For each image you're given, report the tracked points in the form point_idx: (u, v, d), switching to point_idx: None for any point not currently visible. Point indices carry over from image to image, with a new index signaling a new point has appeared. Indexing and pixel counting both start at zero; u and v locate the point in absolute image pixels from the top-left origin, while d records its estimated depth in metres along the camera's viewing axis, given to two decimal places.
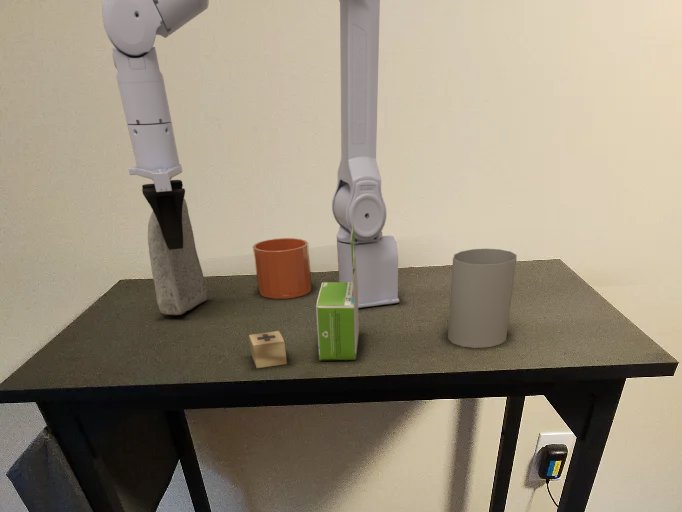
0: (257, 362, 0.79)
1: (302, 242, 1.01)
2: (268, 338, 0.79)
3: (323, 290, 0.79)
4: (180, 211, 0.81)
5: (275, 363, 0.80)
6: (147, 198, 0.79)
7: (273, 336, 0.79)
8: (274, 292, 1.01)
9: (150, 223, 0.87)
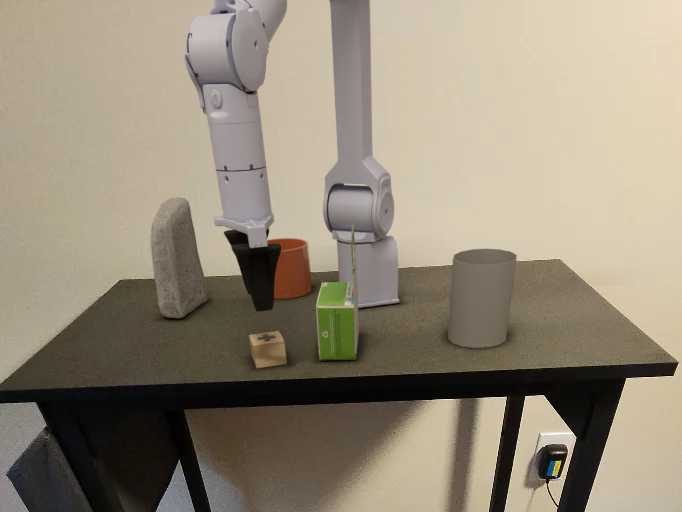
0: (257, 362, 0.79)
1: (302, 242, 1.01)
2: (268, 338, 0.79)
3: (323, 290, 0.79)
4: (274, 269, 0.70)
5: (275, 363, 0.80)
6: (238, 257, 0.67)
7: (273, 336, 0.79)
8: (274, 292, 1.01)
9: (154, 227, 0.87)
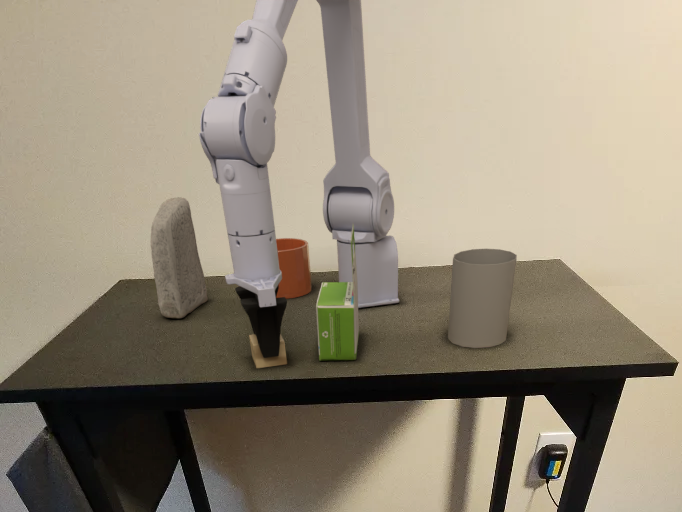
0: (257, 362, 0.79)
1: (302, 242, 1.01)
2: None
3: (323, 290, 0.79)
4: (280, 321, 0.75)
5: (275, 363, 0.80)
6: (247, 311, 0.72)
7: None
8: None
9: (154, 227, 0.87)
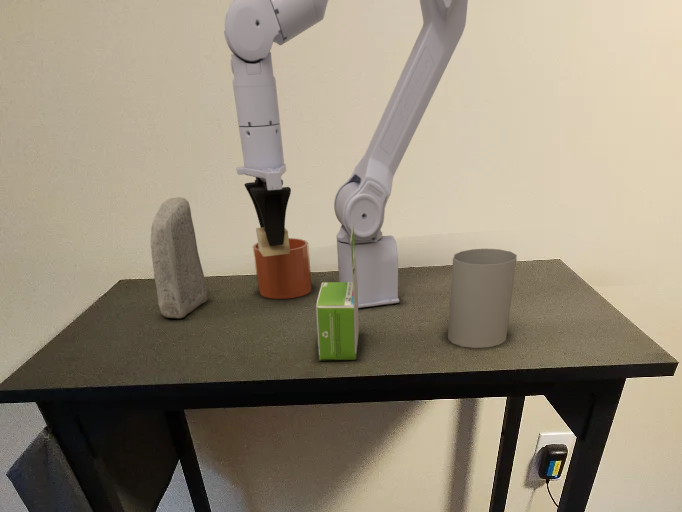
0: (264, 250, 0.89)
1: (302, 242, 1.01)
2: None
3: (323, 290, 0.79)
4: (284, 209, 0.85)
5: (279, 252, 0.90)
6: (256, 197, 0.83)
7: None
8: (274, 292, 1.01)
9: (154, 227, 0.87)
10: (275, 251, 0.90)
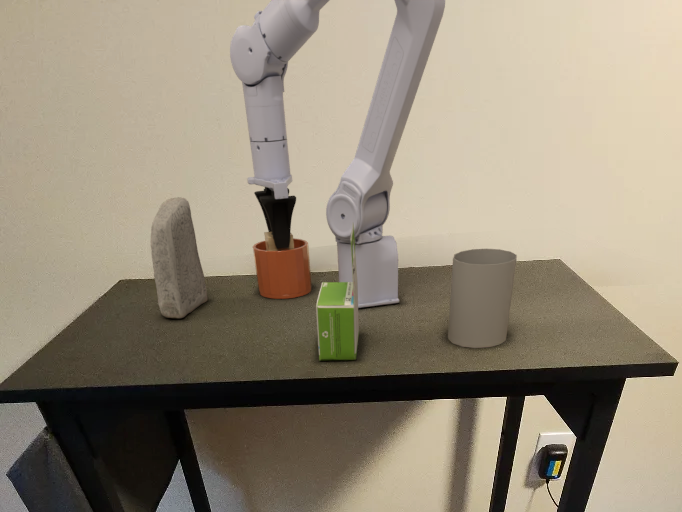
0: None
1: (302, 242, 1.01)
2: None
3: (323, 290, 0.79)
4: (290, 215, 0.94)
5: None
6: (265, 205, 0.92)
7: None
8: (274, 292, 1.01)
9: (154, 227, 0.87)
10: None
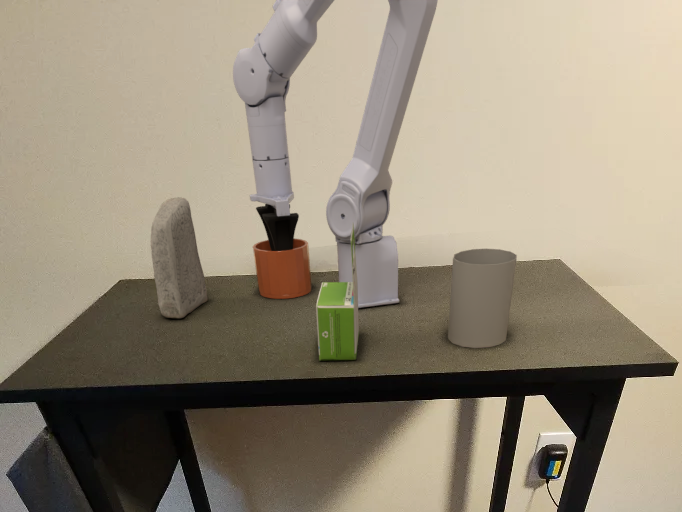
0: None
1: (302, 242, 1.01)
2: None
3: (323, 290, 0.79)
4: (293, 232, 0.95)
5: None
6: (267, 222, 0.93)
7: None
8: (274, 292, 1.01)
9: (154, 227, 0.87)
10: None
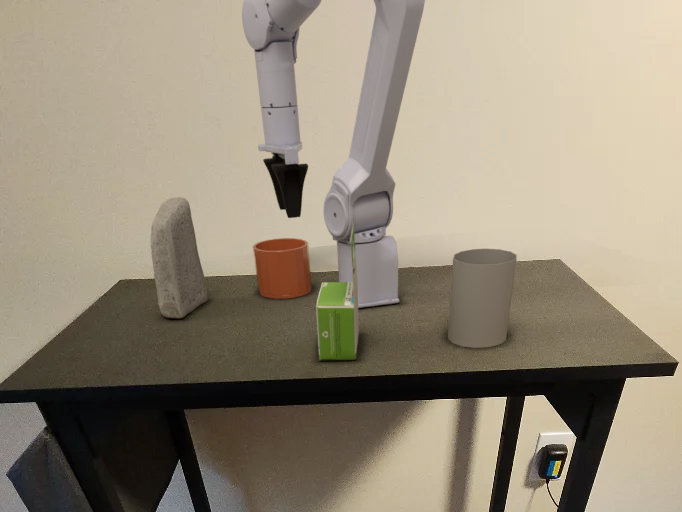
0: None
1: (302, 242, 1.01)
2: None
3: (323, 290, 0.79)
4: (302, 183, 0.94)
5: None
6: (277, 172, 0.92)
7: None
8: (274, 292, 1.01)
9: (154, 227, 0.87)
10: None
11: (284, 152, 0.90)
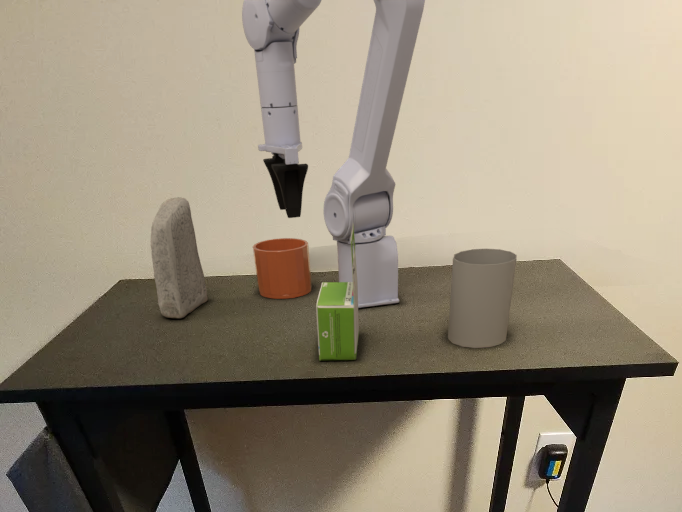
0: None
1: (302, 242, 1.01)
2: None
3: (323, 290, 0.79)
4: (302, 183, 0.94)
5: None
6: (277, 172, 0.92)
7: None
8: (274, 292, 1.01)
9: (154, 227, 0.87)
10: None
11: (284, 152, 0.90)
